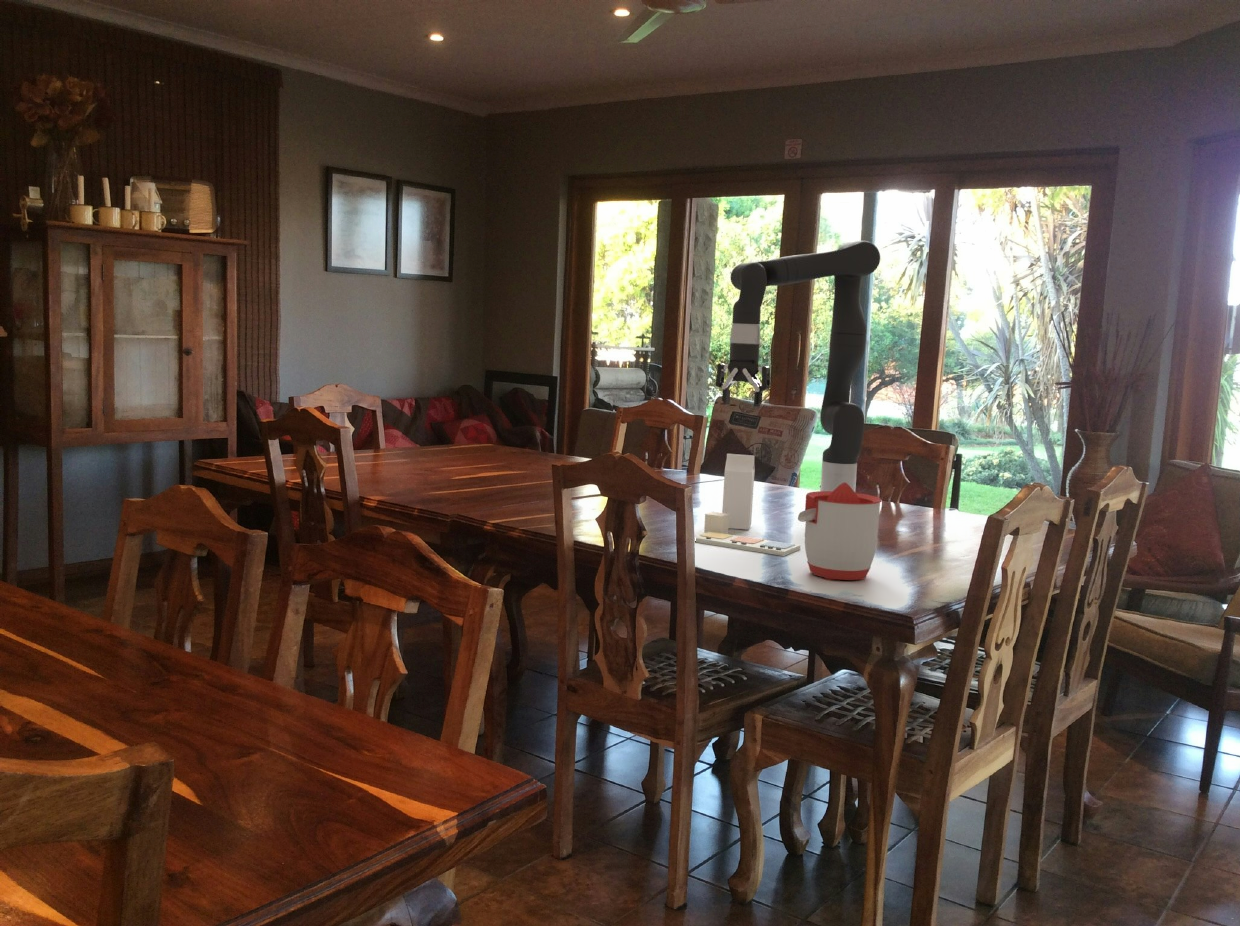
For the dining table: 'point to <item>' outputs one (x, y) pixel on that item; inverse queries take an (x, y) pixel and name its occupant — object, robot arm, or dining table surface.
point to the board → (747, 543)
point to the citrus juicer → (840, 532)
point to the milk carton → (738, 490)
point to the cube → (716, 522)
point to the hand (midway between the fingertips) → (741, 405)
